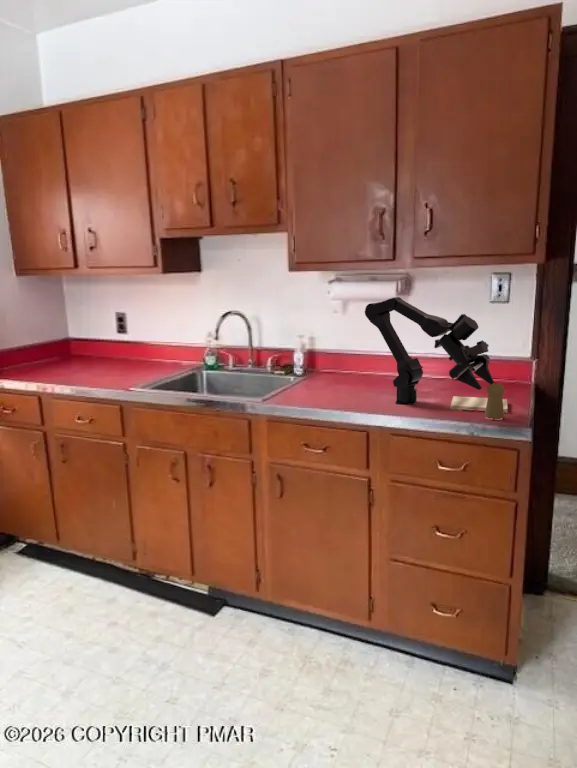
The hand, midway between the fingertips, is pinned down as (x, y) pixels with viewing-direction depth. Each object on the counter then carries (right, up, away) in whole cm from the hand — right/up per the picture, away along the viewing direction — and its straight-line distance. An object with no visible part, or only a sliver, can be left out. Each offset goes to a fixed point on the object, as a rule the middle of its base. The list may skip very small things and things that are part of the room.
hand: (486, 386), depth 181 cm
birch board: (+2, -7, +14) cm, 16 cm away
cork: (+2, -10, 0) cm, 11 cm away
